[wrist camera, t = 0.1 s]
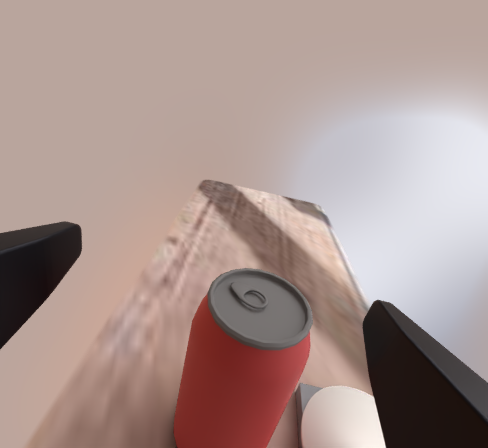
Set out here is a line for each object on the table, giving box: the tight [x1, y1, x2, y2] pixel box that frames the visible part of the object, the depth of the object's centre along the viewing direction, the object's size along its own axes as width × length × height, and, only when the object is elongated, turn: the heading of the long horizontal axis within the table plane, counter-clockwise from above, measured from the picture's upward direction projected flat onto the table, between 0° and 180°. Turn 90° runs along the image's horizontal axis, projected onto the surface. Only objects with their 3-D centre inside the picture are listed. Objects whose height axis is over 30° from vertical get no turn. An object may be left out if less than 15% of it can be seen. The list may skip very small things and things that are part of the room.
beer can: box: [174, 268, 313, 448], centre depth 17 cm, size 7×7×12 cm
